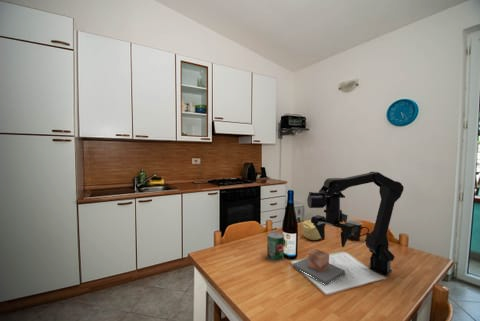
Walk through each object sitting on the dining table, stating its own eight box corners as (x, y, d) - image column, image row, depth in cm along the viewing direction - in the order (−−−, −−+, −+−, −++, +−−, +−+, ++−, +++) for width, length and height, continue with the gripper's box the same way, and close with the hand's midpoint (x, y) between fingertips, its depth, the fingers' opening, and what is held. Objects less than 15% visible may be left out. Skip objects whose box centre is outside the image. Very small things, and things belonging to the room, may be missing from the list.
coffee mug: (342, 237, 129) (342, 221, 128) (351, 235, 132) (352, 219, 132) (360, 245, 118) (360, 227, 118) (369, 242, 122) (370, 225, 122)
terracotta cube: (328, 268, 90) (329, 254, 90) (320, 272, 87) (320, 258, 87) (316, 262, 95) (316, 249, 95) (308, 266, 92) (308, 252, 92)
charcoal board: (345, 274, 89) (345, 270, 89) (325, 285, 81) (325, 281, 81) (312, 258, 102) (312, 255, 102) (292, 267, 94) (292, 263, 94)
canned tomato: (283, 262, 98) (283, 238, 98) (266, 260, 100) (266, 237, 99) (283, 254, 106) (283, 232, 106) (267, 252, 107) (268, 231, 107)
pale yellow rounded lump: (298, 235, 131) (298, 218, 131) (315, 233, 135) (315, 216, 134) (309, 243, 120) (310, 224, 120) (327, 240, 124) (327, 222, 124)
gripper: (364, 209, 89) (364, 245, 89) (324, 201, 104) (324, 233, 104) (350, 213, 82) (350, 253, 83) (310, 204, 98) (310, 238, 98)
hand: (332, 243), depth 92 cm, fingers open, 9 cm apart
